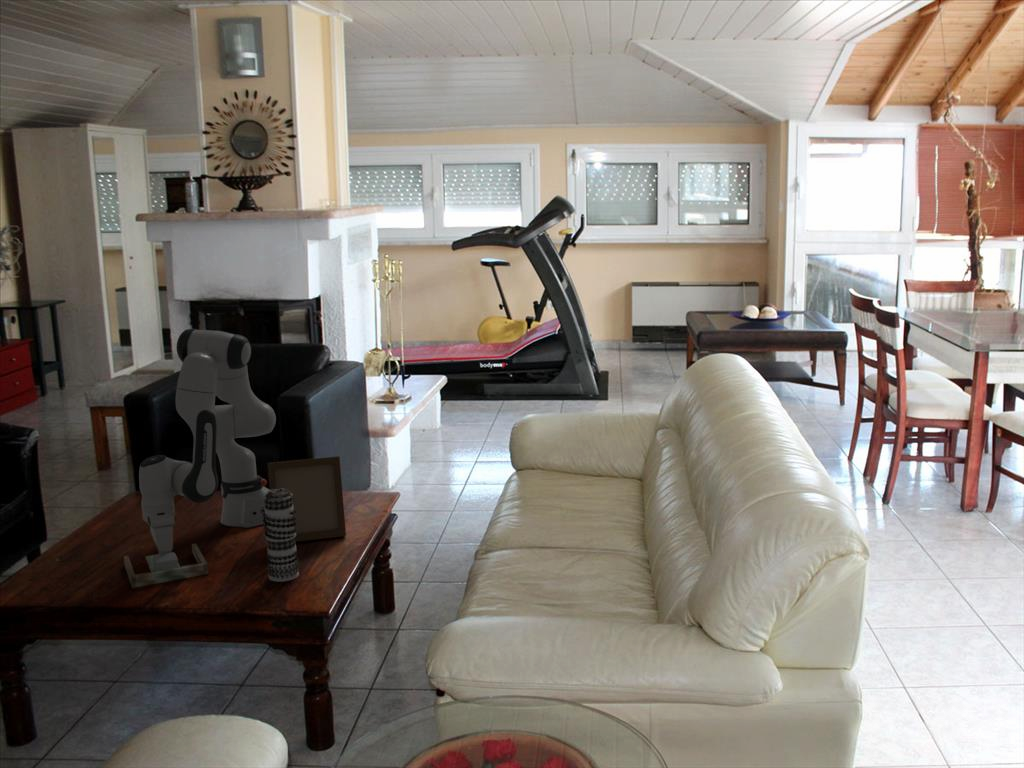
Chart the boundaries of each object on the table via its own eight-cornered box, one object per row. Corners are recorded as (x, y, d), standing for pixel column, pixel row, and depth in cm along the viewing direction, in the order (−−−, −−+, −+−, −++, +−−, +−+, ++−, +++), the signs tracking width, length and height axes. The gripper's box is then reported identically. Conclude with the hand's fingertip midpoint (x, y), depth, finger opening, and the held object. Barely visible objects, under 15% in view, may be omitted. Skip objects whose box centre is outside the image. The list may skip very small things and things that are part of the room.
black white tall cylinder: (286, 567, 286) (280, 483, 281) (307, 574, 280) (301, 489, 275) (260, 577, 279) (253, 491, 274) (281, 584, 273) (274, 497, 268)
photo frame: (346, 538, 308) (341, 460, 303) (274, 547, 302) (268, 467, 298) (341, 524, 322) (336, 449, 317) (272, 532, 316) (266, 456, 312)
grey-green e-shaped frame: (194, 548, 303) (193, 539, 302) (208, 574, 282) (207, 564, 282) (123, 560, 294) (122, 551, 293) (132, 588, 273) (131, 578, 273)
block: (175, 565, 289) (174, 552, 288) (179, 572, 284) (177, 559, 283) (154, 569, 286) (152, 556, 286) (157, 576, 281) (155, 563, 280)
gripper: (142, 504, 293) (147, 548, 296) (151, 524, 275) (156, 571, 278) (165, 500, 296) (169, 544, 299) (175, 520, 278) (179, 566, 281)
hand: (163, 557), depth 288 cm, fingers closed
